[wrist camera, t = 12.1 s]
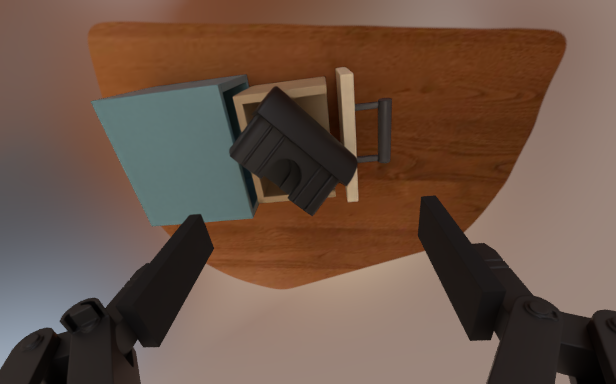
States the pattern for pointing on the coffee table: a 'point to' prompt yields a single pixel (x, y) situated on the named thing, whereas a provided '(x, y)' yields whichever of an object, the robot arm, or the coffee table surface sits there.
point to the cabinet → (181, 149)
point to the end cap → (293, 152)
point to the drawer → (320, 122)
